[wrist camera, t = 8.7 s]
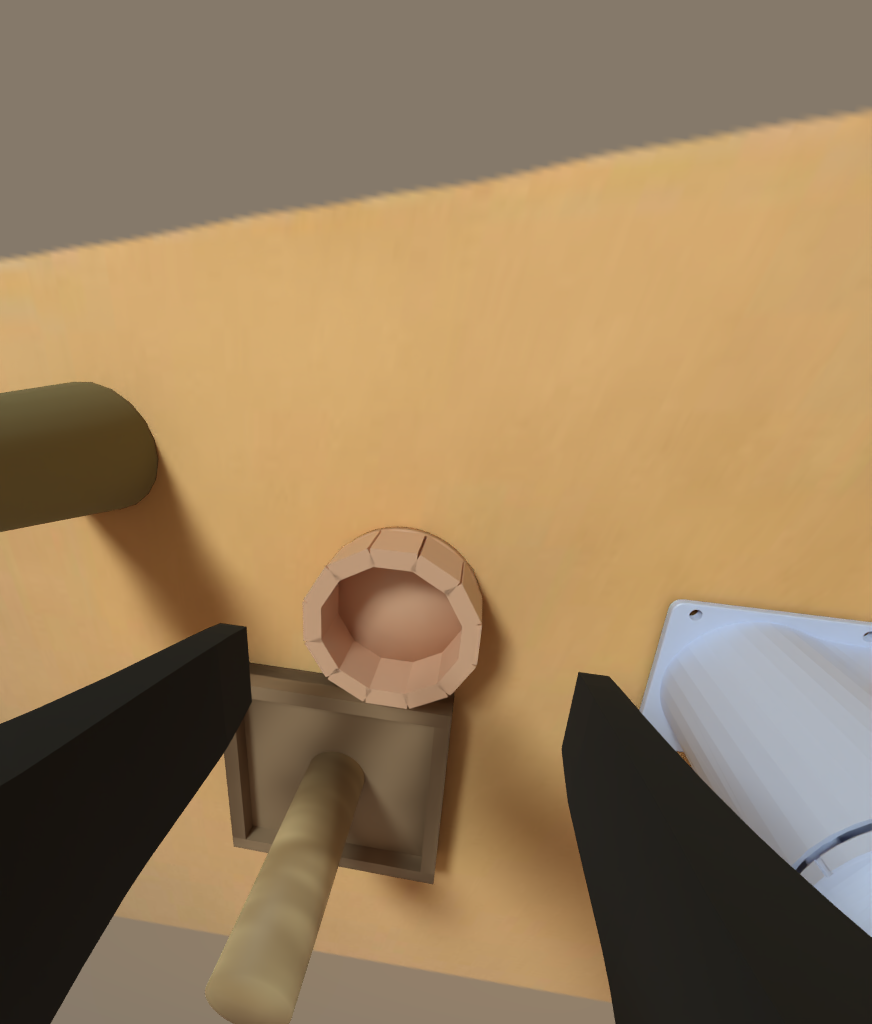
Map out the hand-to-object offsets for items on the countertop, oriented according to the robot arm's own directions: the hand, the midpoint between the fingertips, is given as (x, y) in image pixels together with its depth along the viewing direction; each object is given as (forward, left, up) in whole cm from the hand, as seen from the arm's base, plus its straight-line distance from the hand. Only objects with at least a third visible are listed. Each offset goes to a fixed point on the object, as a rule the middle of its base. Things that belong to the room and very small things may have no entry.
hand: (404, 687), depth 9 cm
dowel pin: (+5, +15, -10) cm, 18 cm away
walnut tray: (+5, +15, -10) cm, 19 cm away
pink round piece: (+2, +4, -10) cm, 11 cm away
